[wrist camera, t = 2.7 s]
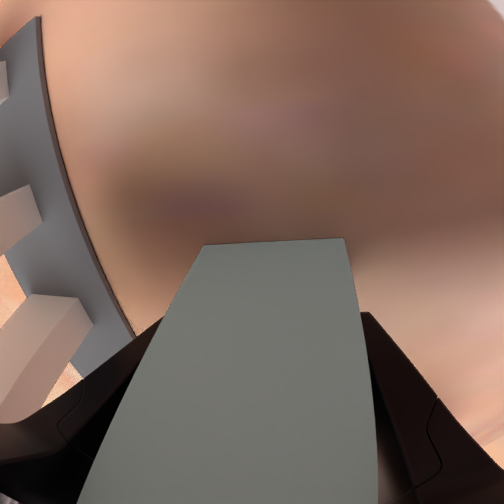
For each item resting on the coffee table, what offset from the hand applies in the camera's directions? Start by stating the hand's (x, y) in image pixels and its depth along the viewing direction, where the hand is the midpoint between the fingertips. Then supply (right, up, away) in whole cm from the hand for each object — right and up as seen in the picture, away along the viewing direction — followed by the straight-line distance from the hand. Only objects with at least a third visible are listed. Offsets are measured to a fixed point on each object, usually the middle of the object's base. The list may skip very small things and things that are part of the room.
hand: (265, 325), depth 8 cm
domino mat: (-12, +1, +5) cm, 13 cm away
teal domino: (0, +2, +3) cm, 3 cm away
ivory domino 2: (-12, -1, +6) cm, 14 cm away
